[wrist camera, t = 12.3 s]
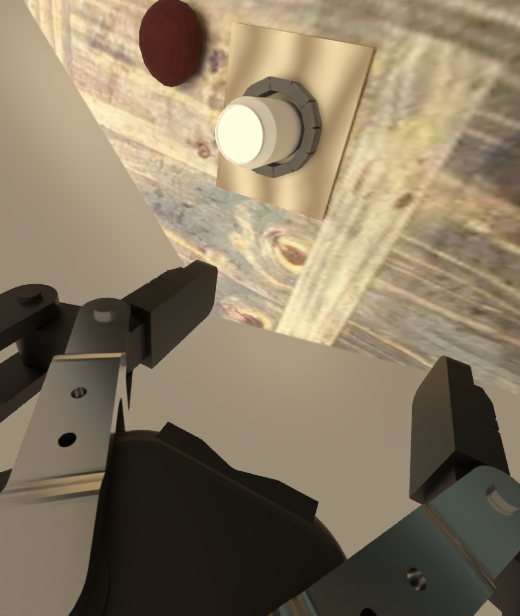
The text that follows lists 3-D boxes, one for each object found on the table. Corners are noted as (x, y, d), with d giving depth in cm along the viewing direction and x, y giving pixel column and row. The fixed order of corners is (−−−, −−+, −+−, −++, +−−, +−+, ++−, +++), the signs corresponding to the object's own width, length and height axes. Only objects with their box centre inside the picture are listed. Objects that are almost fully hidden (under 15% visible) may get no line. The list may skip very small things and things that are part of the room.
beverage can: (312, 104, 37) (275, 102, 27) (300, 163, 40) (263, 178, 31) (263, 95, 38) (211, 89, 29) (255, 152, 42) (207, 163, 32)
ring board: (375, 49, 33) (369, 42, 30) (323, 217, 44) (315, 226, 40) (237, 24, 37) (219, 15, 34) (220, 184, 47) (205, 190, 44)
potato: (149, 54, 42) (115, 46, 38) (180, -15, 37) (144, -33, 33) (188, 99, 43) (159, 97, 38) (223, 38, 38) (195, 28, 33)
